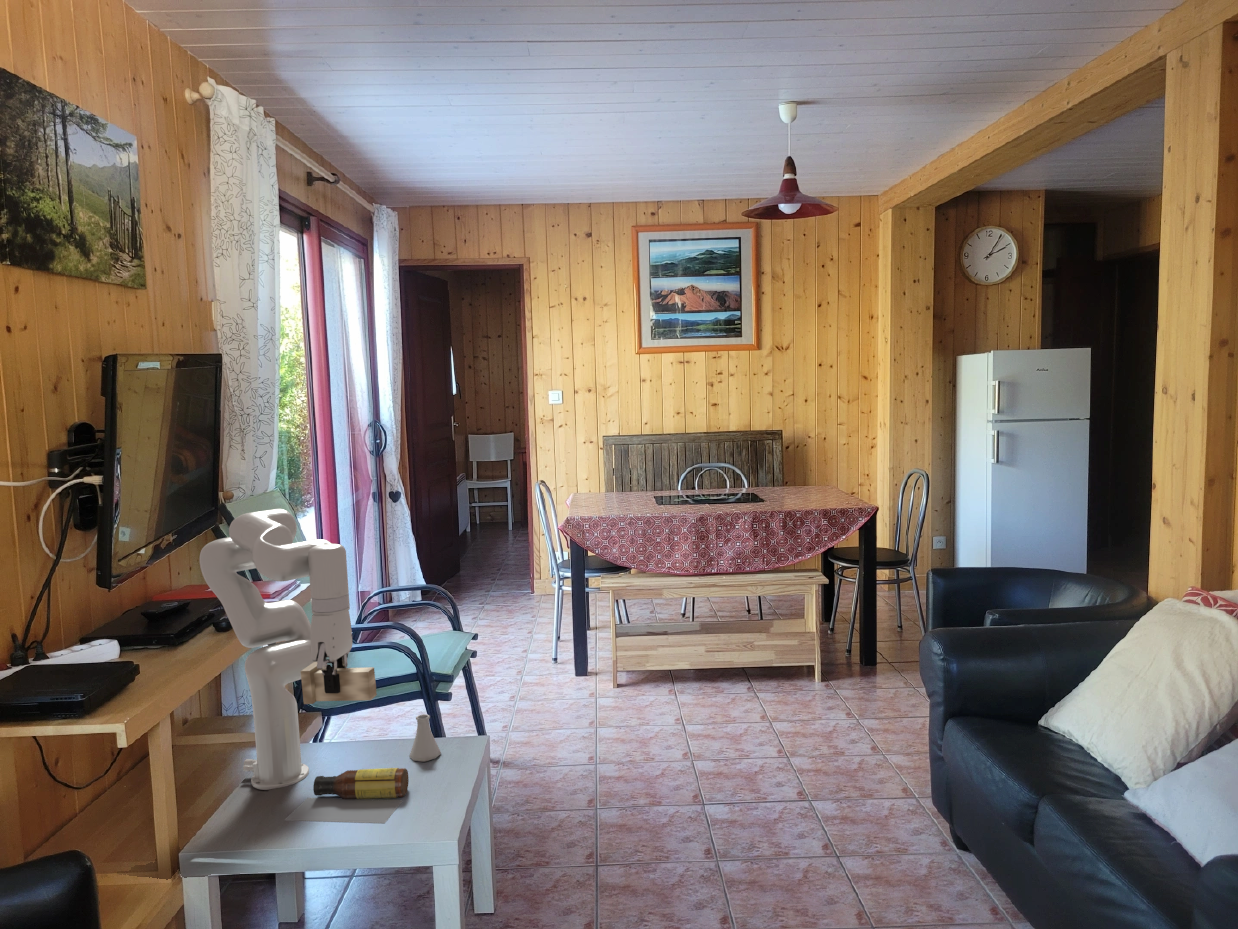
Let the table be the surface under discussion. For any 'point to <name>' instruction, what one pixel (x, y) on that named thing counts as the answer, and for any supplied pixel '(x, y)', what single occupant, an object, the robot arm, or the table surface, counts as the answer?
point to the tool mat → (344, 810)
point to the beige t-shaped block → (351, 684)
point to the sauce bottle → (364, 784)
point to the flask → (424, 741)
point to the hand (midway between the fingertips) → (336, 689)
